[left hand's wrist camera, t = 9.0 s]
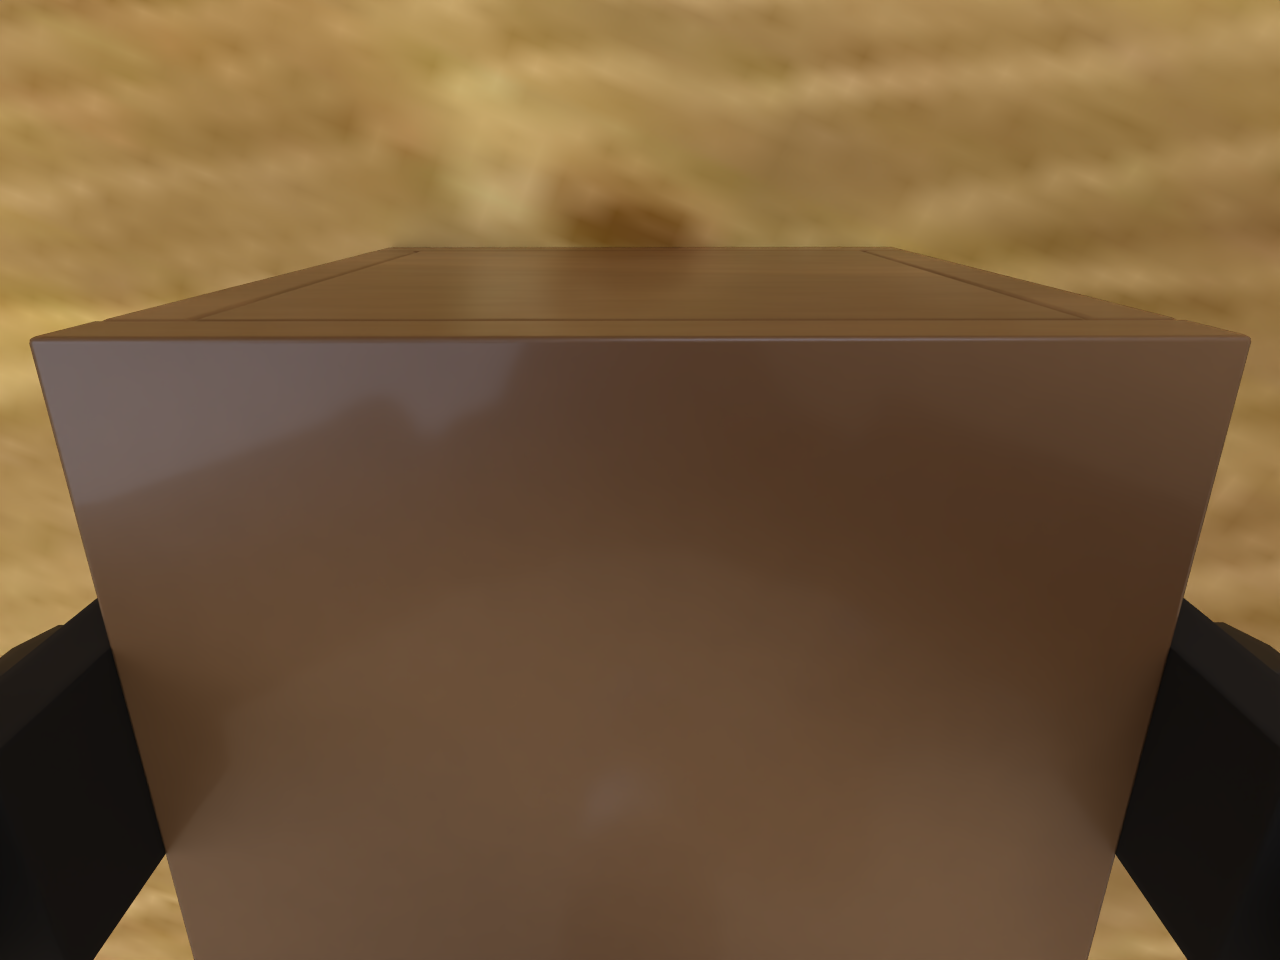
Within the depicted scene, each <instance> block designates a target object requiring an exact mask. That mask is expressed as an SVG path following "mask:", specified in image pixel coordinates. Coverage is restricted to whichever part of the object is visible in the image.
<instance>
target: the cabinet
mask: <svg viewBox="0 0 1280 960" xmlns="http://www.w3.org/2000/svg"><path fill="white" fill-rule="evenodd" d="M1250 344H1251V338H1250V337H1248V336H1246V335H1243V334H1239V333H1235V332H1231V331H1227V330H1223V329H1219V328H1215V327H1211V326H1207V325H1203V324H1199V323H1195V322H1191V321H1187V320H1176V319H1174V318H1171V317H1167V316H1163V315H1159V314H1155V313H1151V312H1147V311H1144V310H1140V309H1136V308H1132V307H1128V306H1124V305H1120V304H1116V303H1112V302H1108V301H1104V300H1100V299H1096V298H1092V297H1088V296H1084V295H1080V294H1076V293H1072V292H1068V291H1064V290H1060V289H1056V288H1052V287H1048V286H1044V285H1040V284H1036V283H1032V282H1028V281H1024V280H1020V279H1016V278H1012V277H1008V276H1004V275H1000V274H996V273H992V272H988V271H984V270H980V269H976V268H972V267H969V266H965V265H961V264H957V263H953V262H949V261H945V260H941V259H937V258H933V257H929V256H925V255H921V254H917V253H913V252H909V251H904V250H901V249H897V248H893V247H636V248H386V249H382V250H378V251H374V252H370V253H366V254H362V255H358V256H354V257H350V258H346V259H342V260H338V261H334V262H330V263H326V264H322V265H318V266H314V267H310V268H307V269H303V270H299V271H295V272H291V273H287V274H283V275H279V276H275V277H271V278H267V279H263V280H259V281H255V282H251V283H247V284H243V285H240V286H236V287H232V288H228V289H224V290H220V291H216V292H212V293H208V294H204V295H200V296H196V297H192V298H188V299H184V300H180V301H176V302H172V303H169V304H165V305H161V306H157V307H153V308H149V309H145V310H141V311H137V312H133V313H129V314H125V315H121V316H117V317H113V318H109V319H106V320H104V321H95V322H91V323H87V324H83V325H79V326H75V327H71V328H67V329H63V330H59V331H55V332H51V333H47V334H43V335H39V336H35V337H33V338H31V339H30V347H31V351H32V355H33V359H34V362H35V366H36V370H37V374H38V377H39V381H40V385H41V388H42V392H43V396H44V400H45V403H46V407H47V411H48V415H49V418H50V422H51V426H52V430H53V433H54V437H55V441H56V445H57V448H58V452H59V456H60V460H61V463H62V467H63V471H64V475H65V478H66V482H67V486H68V489H69V493H70V497H71V501H72V504H73V508H74V512H75V516H76V519H77V523H78V527H79V531H80V534H81V538H82V542H83V546H84V549H85V553H86V557H87V561H88V564H89V568H90V572H91V576H92V579H93V583H94V587H95V590H96V594H97V598H98V602H99V605H100V609H101V613H102V617H103V620H104V624H105V628H106V632H107V635H108V639H109V643H110V647H111V650H112V654H113V658H114V662H115V665H116V669H117V673H118V677H119V680H120V684H121V688H122V691H123V695H124V699H125V703H126V706H127V710H128V714H129V718H130V721H131V725H132V729H133V733H134V736H135V740H136V744H137V748H138V751H139V755H140V759H141V763H142V766H143V770H144V774H145V778H146V781H147V785H148V789H149V792H150V796H151V800H152V804H153V807H154V811H155V815H156V819H157V822H158V826H159V830H160V834H161V837H162V841H163V845H164V849H165V852H166V856H167V860H168V864H169V867H170V871H171V875H172V879H173V882H174V886H175V890H176V893H177V897H178V901H179V905H180V908H181V912H182V916H183V920H184V923H185V927H186V931H187V935H188V938H189V942H190V946H191V950H192V953H193V957H194V960H1087V959H1088V956H1089V952H1090V948H1091V944H1092V941H1093V937H1094V933H1095V929H1096V925H1097V922H1098V918H1099V914H1100V910H1101V907H1102V903H1103V899H1104V895H1105V891H1106V888H1107V884H1108V880H1109V876H1110V873H1111V869H1112V865H1113V861H1114V857H1115V854H1116V850H1117V846H1118V842H1119V839H1120V835H1121V831H1122V827H1123V823H1124V820H1125V816H1126V812H1127V808H1128V805H1129V801H1130V797H1131V793H1132V789H1133V786H1134V782H1135V778H1136V774H1137V771H1138V767H1139V763H1140V759H1141V755H1142V752H1143V748H1144V744H1145V740H1146V737H1147V733H1148V729H1149V725H1150V722H1151V718H1152V714H1153V710H1154V706H1155V703H1156V699H1157V695H1158V691H1159V688H1160V684H1161V680H1162V676H1163V672H1164V669H1165V665H1166V661H1167V657H1168V654H1169V650H1170V646H1171V642H1172V638H1173V635H1174V631H1175V627H1176V623H1177V620H1178V616H1179V612H1180V608H1181V604H1182V601H1183V597H1184V593H1185V589H1186V586H1187V582H1188V578H1189V574H1190V570H1191V567H1192V563H1193V559H1194V555H1195V552H1196V548H1197V544H1198V540H1199V536H1200V533H1201V529H1202V525H1203V521H1204V518H1205V514H1206V510H1207V506H1208V502H1209V499H1210V495H1211V491H1212V487H1213V484H1214V480H1215V476H1216V472H1217V468H1218V465H1219V461H1220V457H1221V453H1222V450H1223V446H1224V442H1225V438H1226V434H1227V431H1228V427H1229V423H1230V419H1231V416H1232V412H1233V408H1234V404H1235V400H1236V397H1237V393H1238V389H1239V385H1240V382H1241V378H1242V374H1243V370H1244V366H1245V363H1246V359H1247V355H1248V351H1249V348H1250Z"/></svg>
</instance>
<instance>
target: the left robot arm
mask: <svg viewBox="0 0 1280 960" xmlns="http://www.w3.org/2000/svg"><path fill="white" fill-rule="evenodd" d="M165 854H166V852H165V849H164V845H163V841H162V837H161V834H160V830H159V826H158V822H157V819H156V815H155V811H154V807H153V804H152V800H151V796H150V792H149V789H148V785H147V781H146V778H145V774H144V770H143V766H142V763H141V759H140V755H139V751H138V748H137V744H136V740H135V736H134V733H133V729H132V725H131V721H130V718H129V714H128V710H127V706H126V703H125V699H124V695H123V691H122V688H121V684H120V680H119V677H118V673H117V669H116V665H115V662H114V658H113V654H112V650H111V647H110V643H109V639H108V635H107V632H106V628H105V624H104V620H103V617H102V613H101V609H100V605H99V602H98V598H97V599H96V600H94V601H93V602H92V603H91V604H89V605H88V606H87V607H86V608H84V609H83V610H82V611H81V612H79V613H78V614H77V615H76V616H74V617H73V618H72V619H71V620H70V621H68V622H67V623H66V624H65V625H58V626H56V627H54V628H52V629H50V630H48V631H46V632H44V633H42V634H40V635H38V636H36V637H34V638H32V639H30V640H28V641H26V642H24V643H22V644H20V645H18V646H16V647H14V648H12V649H11V650H10V651H8V652H7V653H6V654H4V655H3V656H2V657H1V658H0V960H93V959H94V958H95V956H96V955H97V953H98V952H99V951H100V949H101V948H102V946H103V945H104V943H105V942H106V940H107V939H108V937H109V936H110V934H111V933H112V932H113V930H114V929H115V927H116V926H117V924H118V923H119V921H120V920H121V918H122V917H123V915H124V914H125V912H126V911H127V910H128V908H129V907H130V905H131V904H132V902H133V901H134V899H135V898H136V896H137V895H138V893H139V892H140V891H141V889H142V888H143V886H144V885H145V883H146V882H147V880H148V879H149V877H150V876H151V874H152V873H153V872H154V870H155V869H156V867H157V866H158V864H159V863H160V861H161V860H162V858H163V857H164V855H165ZM1116 856H1117V857H1118V859H1119V860H1120V862H1121V863H1122V864H1123V866H1124V867H1125V869H1126V870H1127V872H1128V873H1129V875H1130V876H1131V878H1132V879H1133V881H1134V882H1135V883H1136V885H1137V886H1138V888H1139V889H1140V891H1141V892H1142V894H1143V895H1144V897H1145V898H1146V900H1147V901H1148V902H1149V904H1150V905H1151V907H1152V908H1153V910H1154V911H1155V913H1156V914H1157V916H1158V917H1159V919H1160V920H1161V922H1162V923H1163V924H1164V926H1165V927H1166V929H1167V930H1168V932H1169V933H1170V935H1171V936H1172V938H1173V939H1174V941H1175V942H1176V943H1177V945H1178V946H1179V948H1180V949H1181V951H1182V952H1183V954H1184V955H1185V957H1186V958H1187V960H1280V653H1279V652H1277V651H1276V650H1275V649H1274V648H1272V647H1271V646H1270V645H1268V644H1266V643H1264V642H1262V641H1260V640H1258V639H1256V638H1254V637H1252V636H1250V635H1248V634H1246V633H1244V632H1242V631H1240V630H1238V629H1236V628H1234V627H1231V626H1229V625H1227V624H1225V623H1223V622H1213V621H1211V620H1210V619H1209V618H1208V617H1206V616H1205V615H1204V614H1203V613H1201V612H1200V611H1199V610H1198V609H1197V608H1195V607H1194V606H1193V605H1192V604H1190V603H1189V602H1188V601H1187V600H1185V599H1184V598H1183V601H1182V604H1181V608H1180V612H1179V616H1178V620H1177V623H1176V627H1175V631H1174V635H1173V638H1172V642H1171V646H1170V650H1169V654H1168V657H1167V661H1166V665H1165V669H1164V672H1163V676H1162V680H1161V684H1160V688H1159V691H1158V695H1157V699H1156V703H1155V706H1154V710H1153V714H1152V718H1151V722H1150V725H1149V729H1148V733H1147V737H1146V740H1145V744H1144V748H1143V752H1142V755H1141V759H1140V763H1139V767H1138V771H1137V774H1136V778H1135V782H1134V786H1133V789H1132V793H1131V797H1130V801H1129V805H1128V808H1127V812H1126V816H1125V820H1124V823H1123V827H1122V831H1121V835H1120V839H1119V842H1118V846H1117V850H1116Z"/></svg>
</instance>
